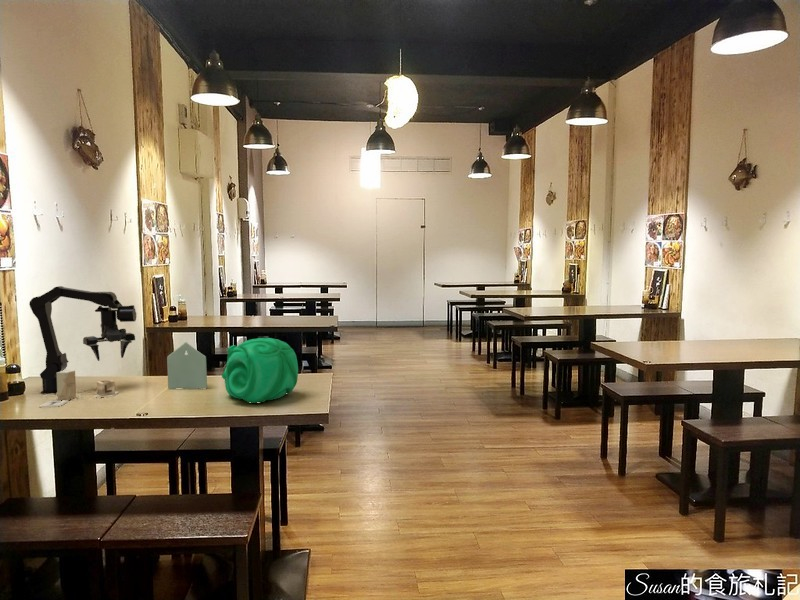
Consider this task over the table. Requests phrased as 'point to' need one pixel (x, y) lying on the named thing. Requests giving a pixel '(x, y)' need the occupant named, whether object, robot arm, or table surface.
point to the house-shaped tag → (186, 368)
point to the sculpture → (260, 370)
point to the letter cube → (105, 387)
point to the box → (66, 385)
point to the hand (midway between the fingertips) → (110, 359)
